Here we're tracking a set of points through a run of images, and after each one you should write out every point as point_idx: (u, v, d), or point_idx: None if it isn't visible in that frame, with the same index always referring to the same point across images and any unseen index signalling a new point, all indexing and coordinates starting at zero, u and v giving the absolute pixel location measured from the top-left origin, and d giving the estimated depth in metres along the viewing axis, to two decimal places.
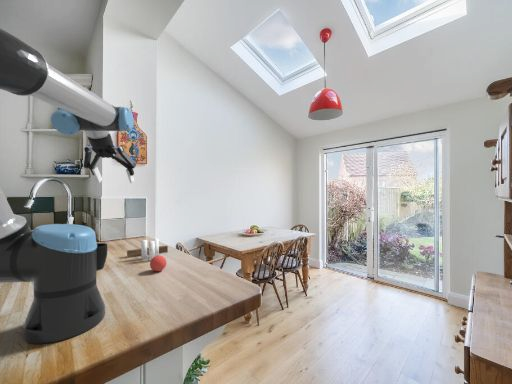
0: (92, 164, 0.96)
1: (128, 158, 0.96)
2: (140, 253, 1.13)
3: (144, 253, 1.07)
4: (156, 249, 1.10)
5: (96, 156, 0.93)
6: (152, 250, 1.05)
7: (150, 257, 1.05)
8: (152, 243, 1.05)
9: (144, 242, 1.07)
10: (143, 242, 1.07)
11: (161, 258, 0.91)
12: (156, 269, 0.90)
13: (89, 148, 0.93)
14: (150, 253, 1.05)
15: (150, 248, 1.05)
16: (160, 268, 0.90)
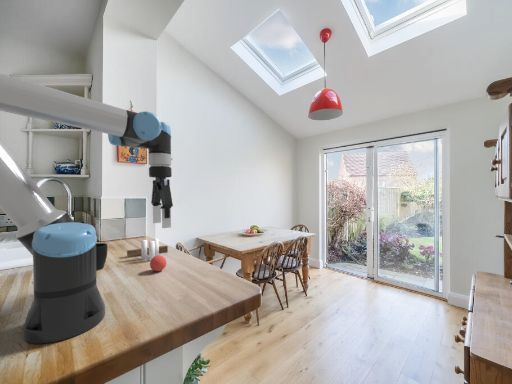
0: (153, 199, 0.89)
1: (166, 194, 0.78)
2: (140, 253, 1.13)
3: (144, 253, 1.07)
4: (156, 249, 1.10)
5: (153, 189, 0.86)
6: (152, 250, 1.05)
7: (150, 257, 1.05)
8: (152, 243, 1.05)
9: (144, 242, 1.07)
10: (143, 242, 1.07)
11: (161, 258, 0.91)
12: (156, 269, 0.90)
13: None
14: (150, 253, 1.05)
15: (150, 248, 1.05)
16: (160, 268, 0.90)
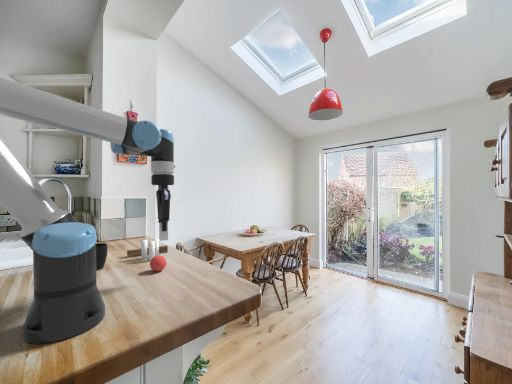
0: (159, 213, 0.85)
1: (165, 209, 0.80)
2: (140, 253, 1.13)
3: (144, 253, 1.07)
4: (156, 249, 1.10)
5: (157, 199, 0.84)
6: (152, 250, 1.05)
7: (150, 257, 1.05)
8: (152, 243, 1.05)
9: (144, 242, 1.07)
10: (143, 242, 1.07)
11: (161, 258, 0.91)
12: (156, 269, 0.90)
13: None
14: (150, 253, 1.05)
15: (150, 248, 1.05)
16: (160, 268, 0.90)
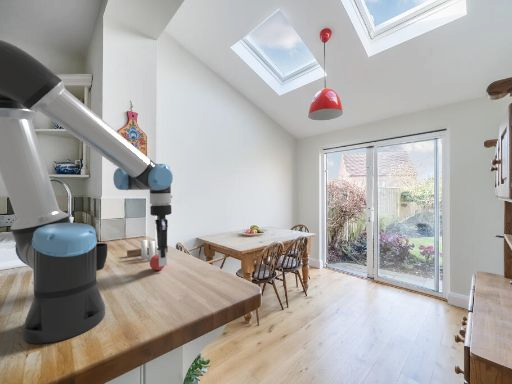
0: (158, 240, 0.91)
1: (162, 238, 0.87)
2: (140, 253, 1.13)
3: (144, 253, 1.07)
4: (156, 249, 1.10)
5: (156, 227, 0.91)
6: (152, 250, 1.05)
7: (150, 257, 1.05)
8: (152, 243, 1.05)
9: (144, 242, 1.07)
10: (143, 242, 1.07)
11: None
12: (156, 266, 0.91)
13: None
14: (150, 253, 1.05)
15: (150, 248, 1.05)
16: None
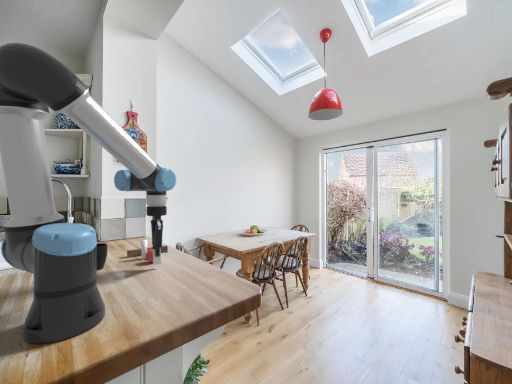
0: (153, 240, 0.95)
1: (158, 238, 0.91)
2: (140, 253, 1.13)
3: (144, 253, 1.07)
4: None
5: (151, 227, 0.95)
6: None
7: None
8: None
9: (144, 242, 1.07)
10: (143, 242, 1.07)
11: None
12: None
13: None
14: None
15: None
16: None
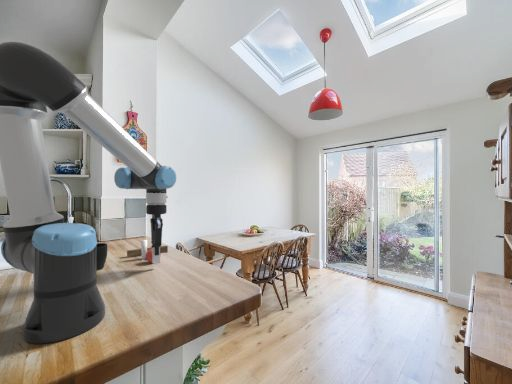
0: (152, 238, 0.95)
1: (157, 236, 0.91)
2: (140, 253, 1.13)
3: (144, 253, 1.07)
4: None
5: (151, 226, 0.95)
6: None
7: None
8: None
9: (144, 242, 1.07)
10: (143, 242, 1.07)
11: None
12: None
13: None
14: None
15: None
16: None
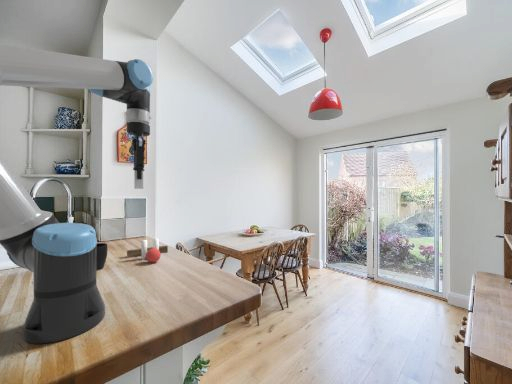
0: None
1: (139, 156, 0.82)
2: (140, 253, 1.13)
3: (144, 253, 1.07)
4: None
5: (133, 148, 0.86)
6: None
7: None
8: None
9: (144, 242, 1.07)
10: (143, 242, 1.07)
11: None
12: None
13: None
14: None
15: None
16: None
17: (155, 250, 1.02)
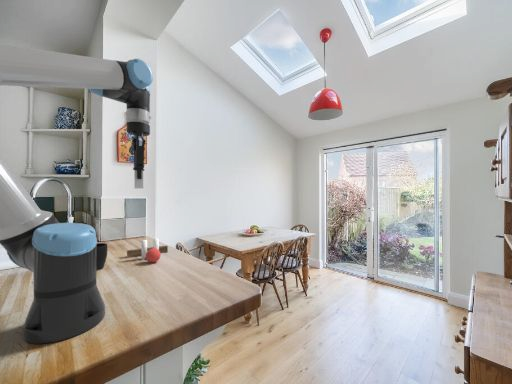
0: None
1: (139, 156, 0.82)
2: (140, 253, 1.13)
3: (144, 253, 1.07)
4: None
5: (133, 148, 0.86)
6: None
7: None
8: None
9: (144, 242, 1.07)
10: (143, 242, 1.07)
11: None
12: None
13: None
14: None
15: None
16: None
17: (155, 250, 1.02)
